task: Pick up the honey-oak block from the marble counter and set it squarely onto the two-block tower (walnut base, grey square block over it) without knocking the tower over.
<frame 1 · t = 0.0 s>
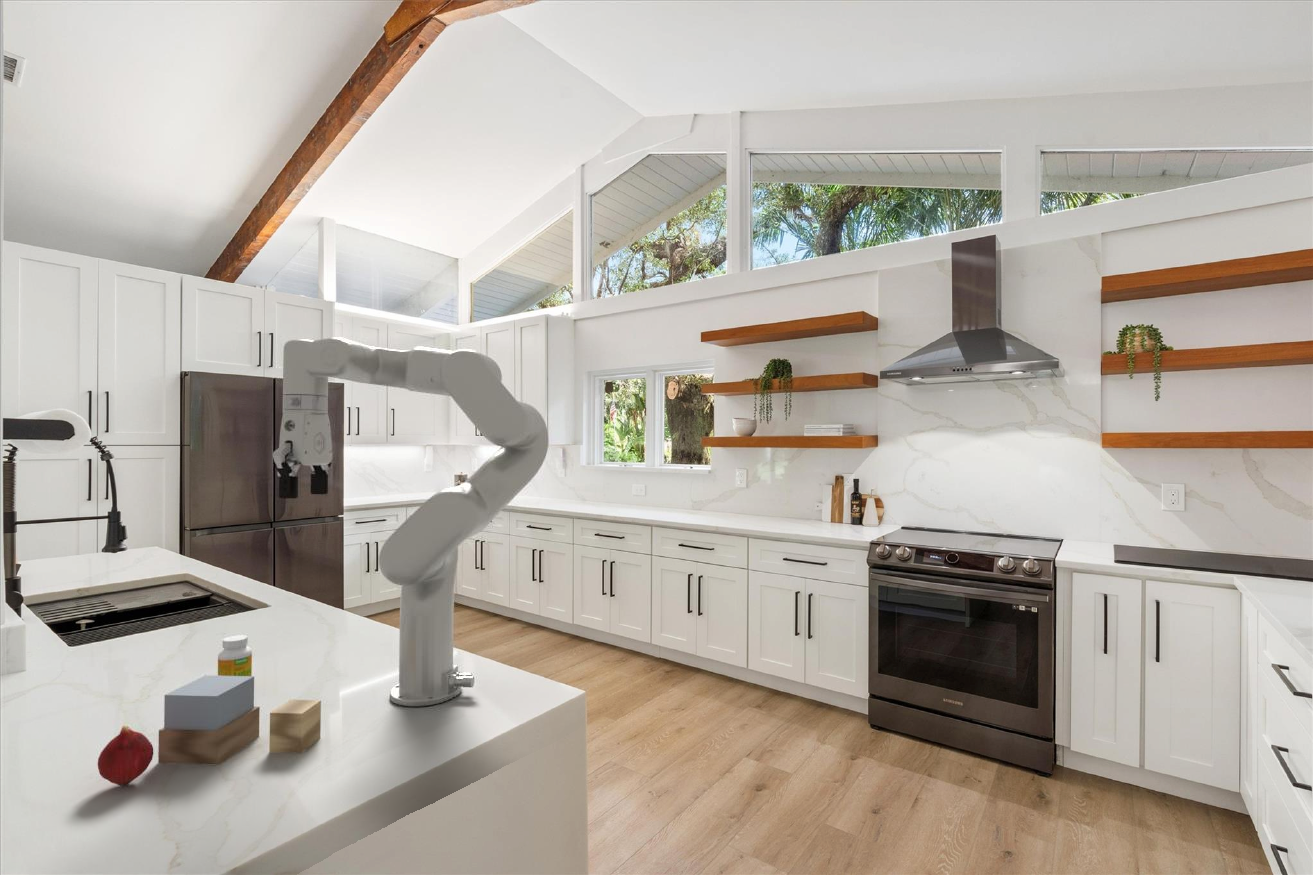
hand: (304, 496, 121), 37 cm above the counter, tool pointing down, fingers open, 9 cm apart
tower base: (210, 750, 98), on the counter, touching grey square block
onion: (125, 786, 87), on the counter
grey square block: (210, 718, 98), point 5 cm above the counter, touching tower base
supplement bottle: (234, 690, 121), on the counter
oak block: (295, 745, 99), on the counter
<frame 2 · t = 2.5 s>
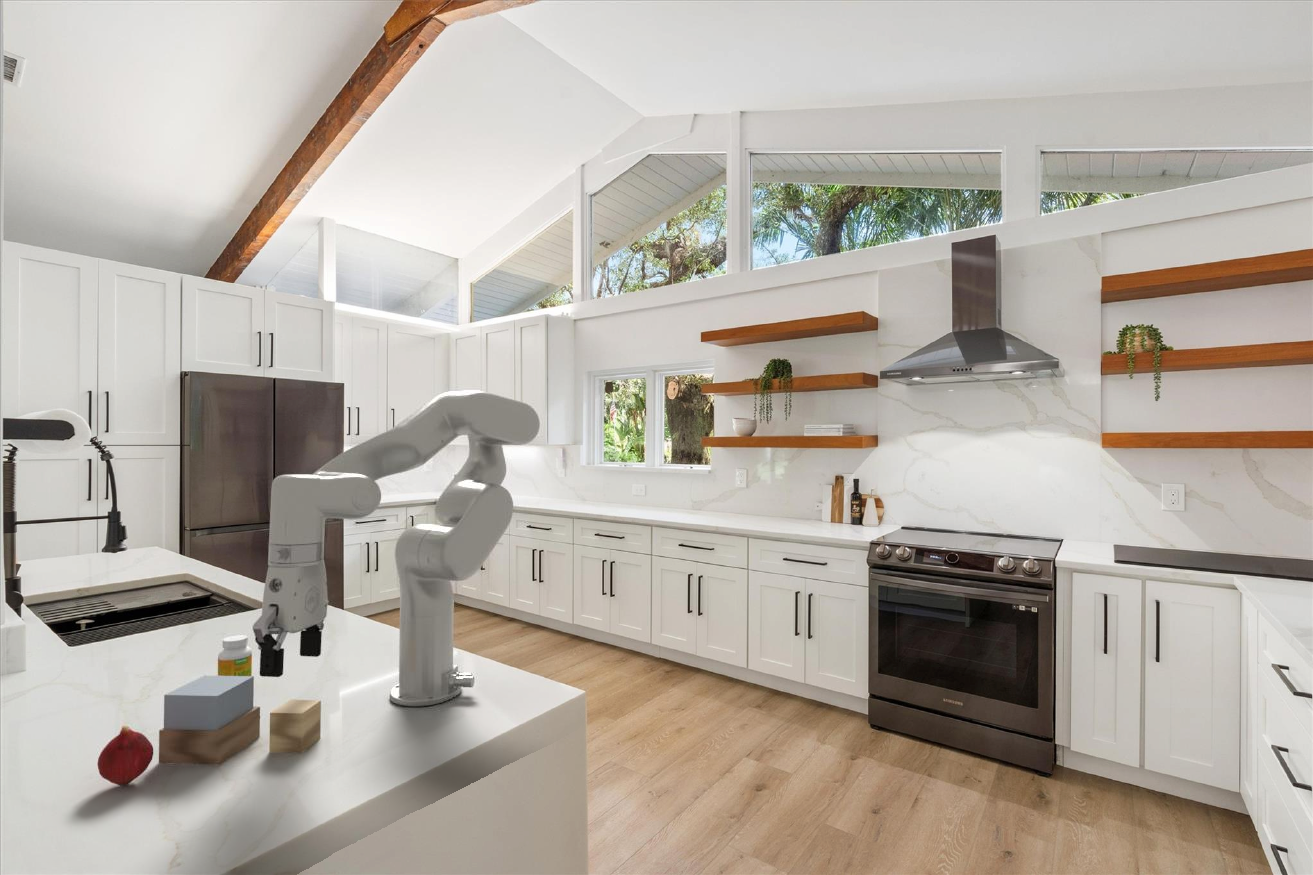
hand: (291, 665, 99), 12 cm above the counter, tool pointing down, fingers open, 9 cm apart
nothing on the counter moved.
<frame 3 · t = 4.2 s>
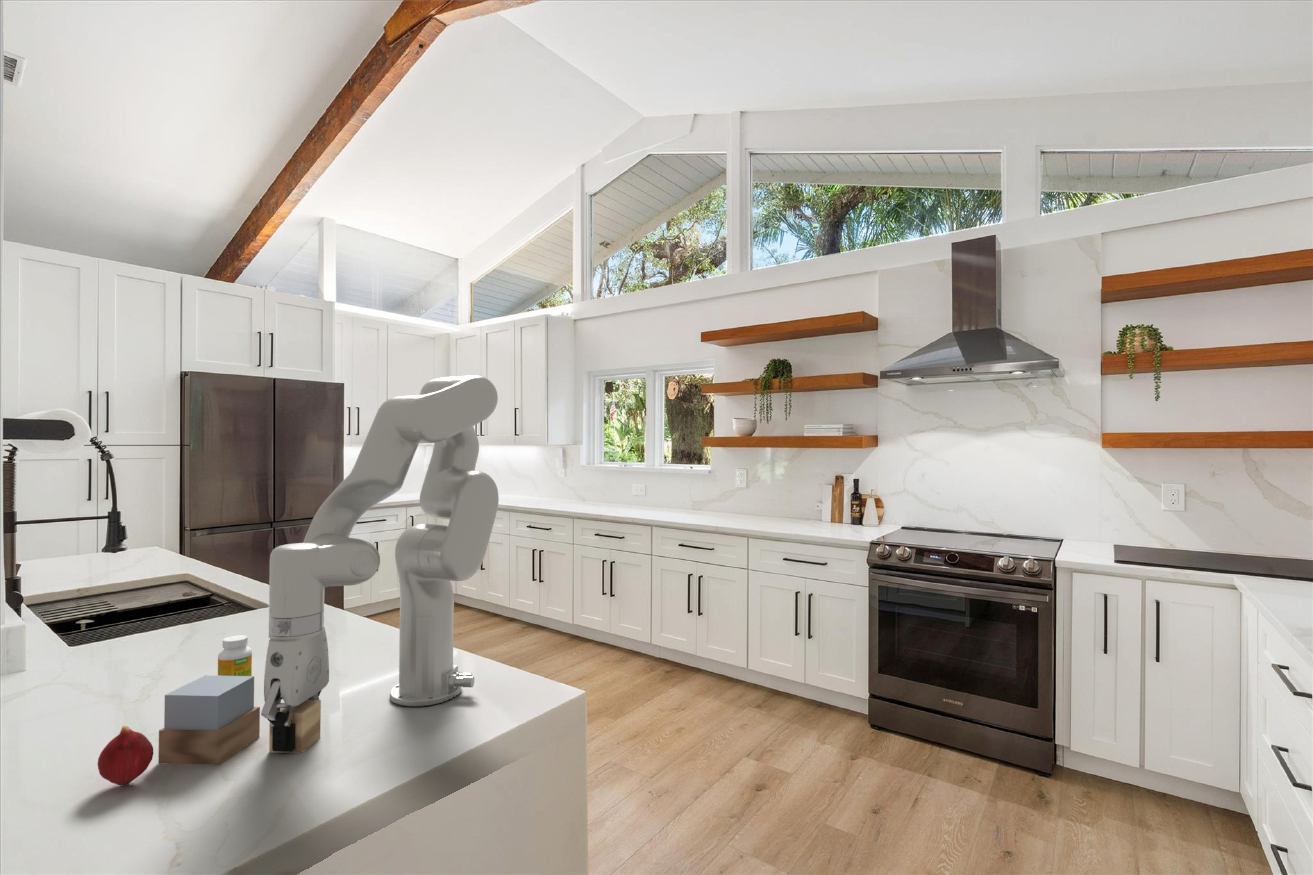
hand: (295, 740, 99), 1 cm above the counter, tool pointing down, fingers closed on oak block, 5 cm apart
oak block: (295, 744, 99), on the counter, touching gripper
everything else where it was.
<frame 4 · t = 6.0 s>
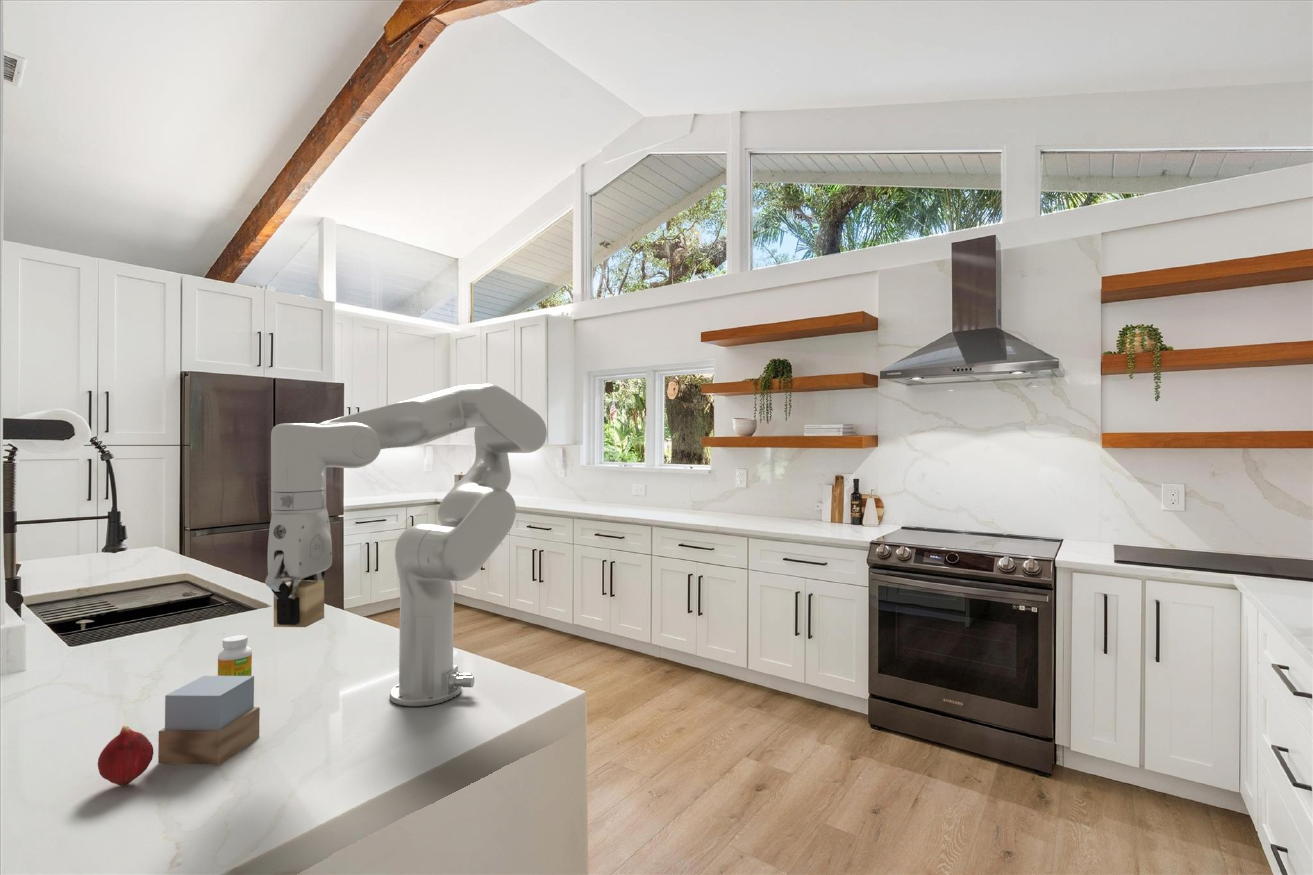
hand: (299, 617, 100), 20 cm above the counter, tool pointing down, fingers closed on oak block, 5 cm apart
oak block: (299, 622, 100), point 19 cm above the counter, touching gripper
everything else where it was.
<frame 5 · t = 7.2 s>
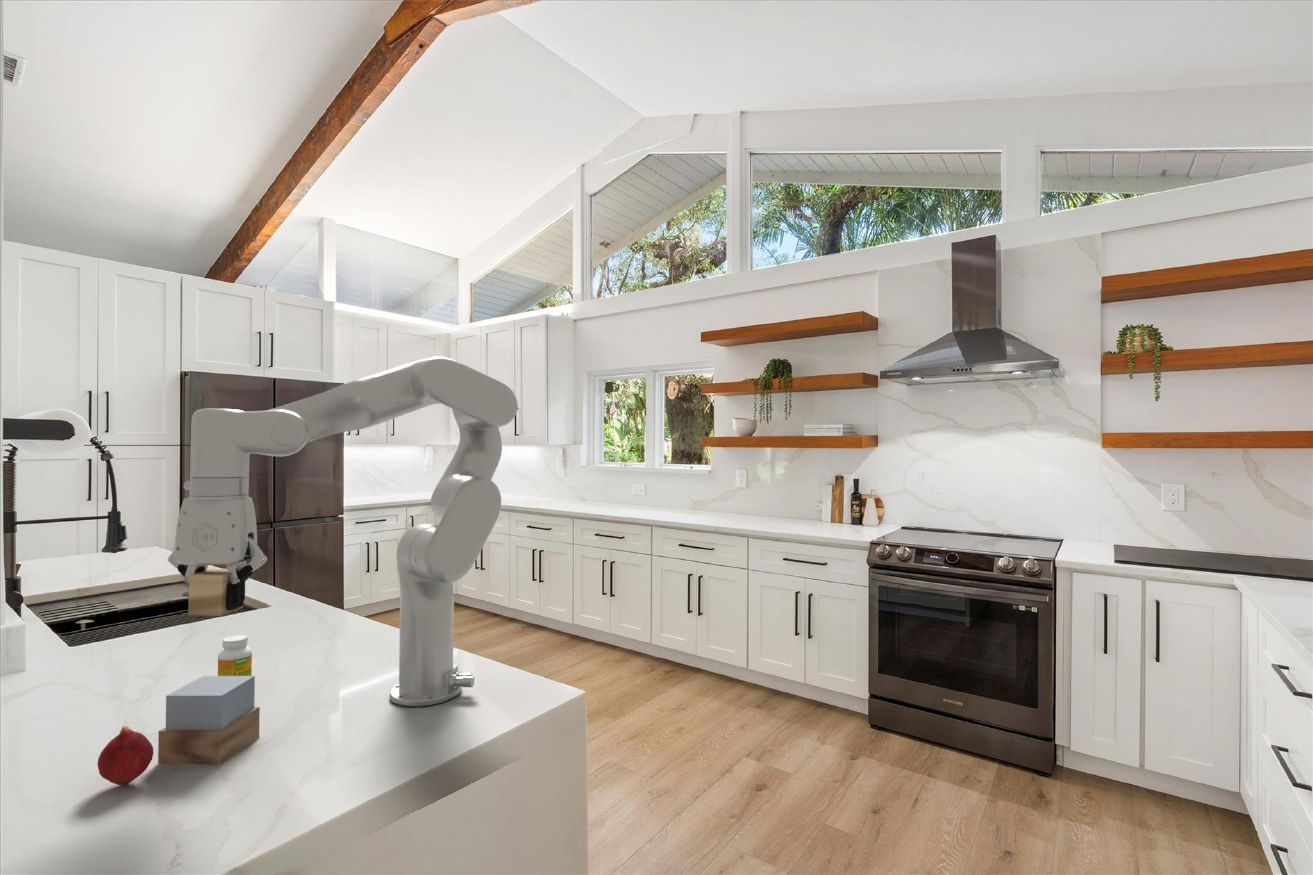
hand: (216, 606, 98), 22 cm above the counter, tool pointing down, fingers closed on oak block, 5 cm apart
oak block: (216, 611, 98), point 21 cm above the counter, touching gripper
everything else where it was.
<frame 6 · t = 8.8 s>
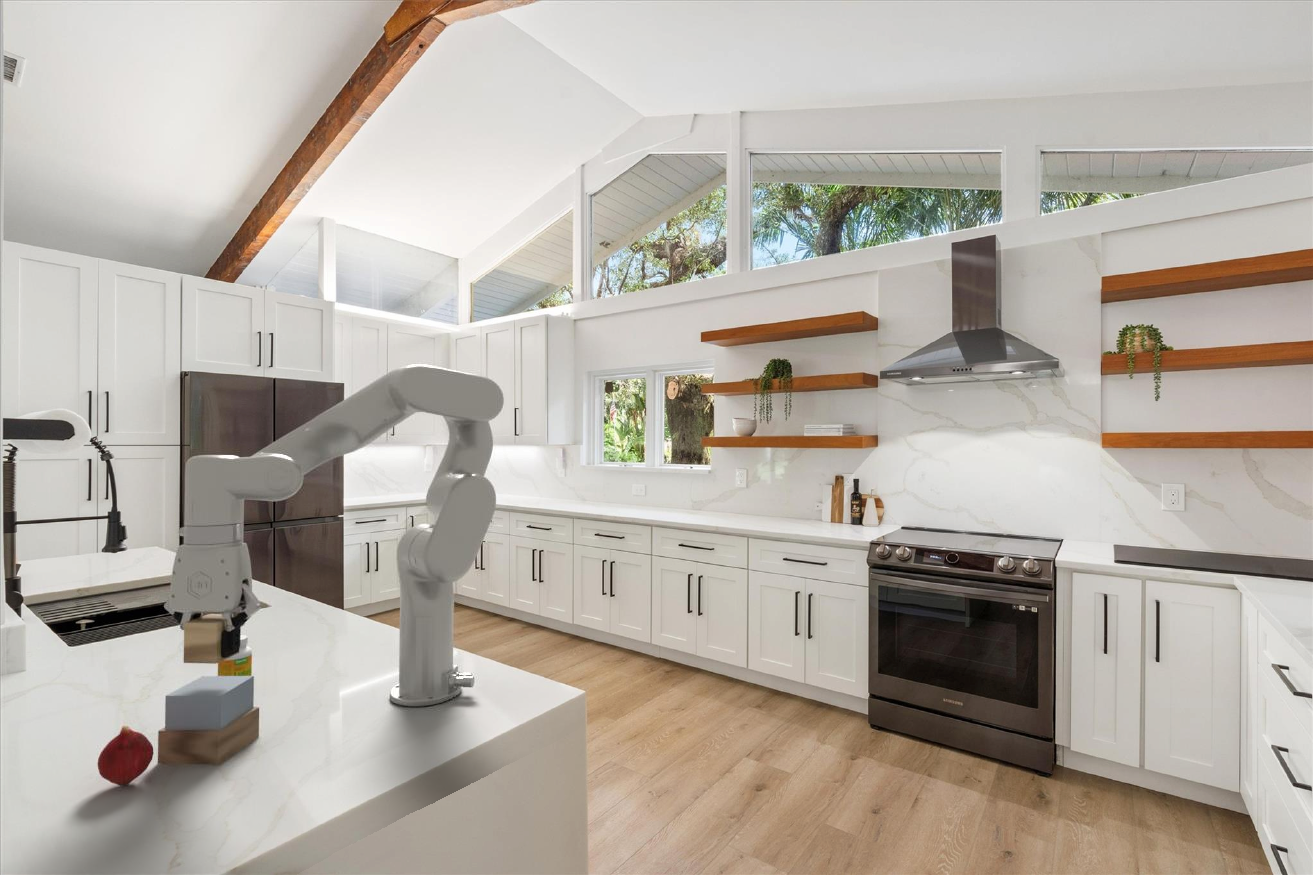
hand: (212, 653, 98), 15 cm above the counter, tool pointing down, fingers closed on oak block, 5 cm apart
oak block: (212, 657, 98), point 14 cm above the counter, touching gripper
everything else where it was.
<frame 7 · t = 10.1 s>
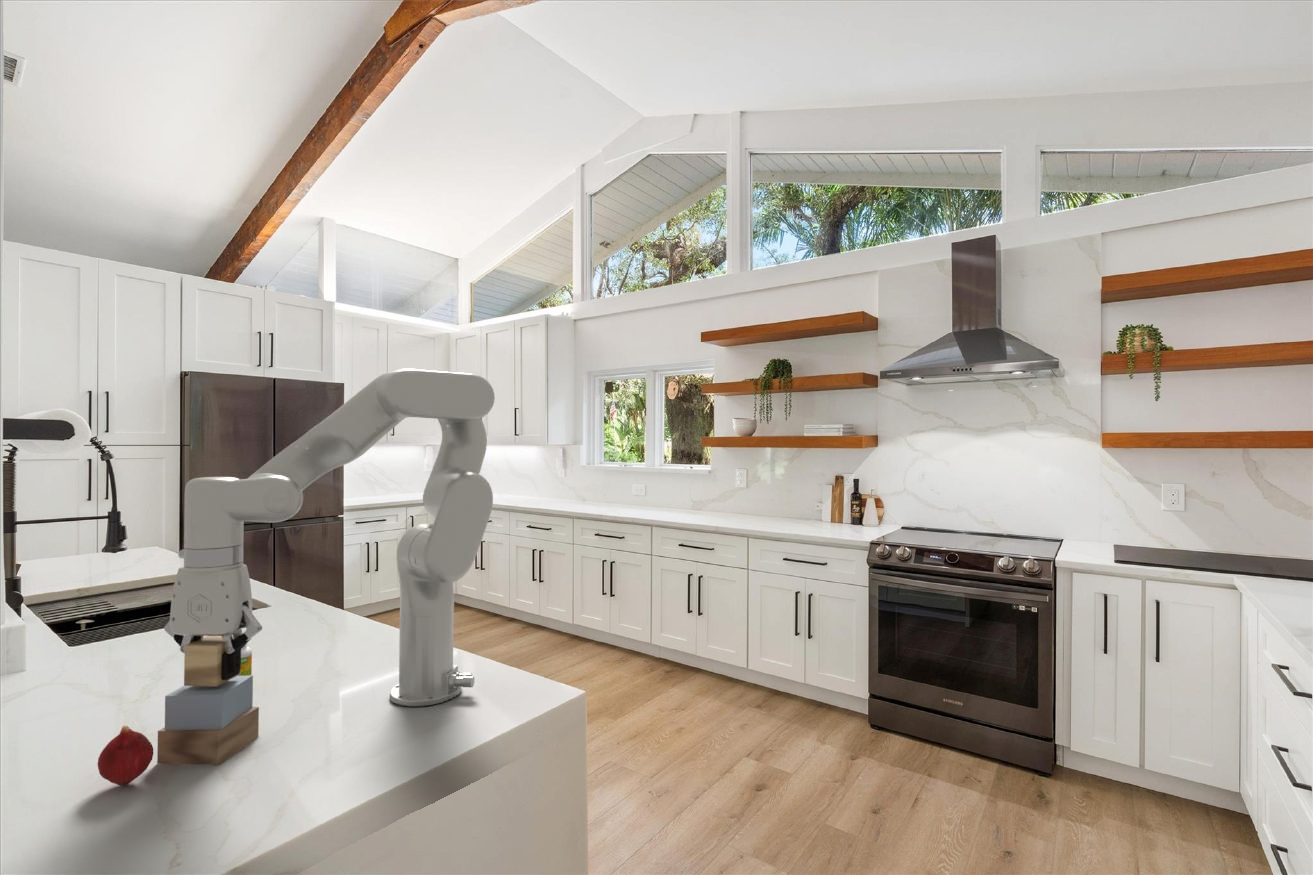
hand: (212, 675, 98), 11 cm above the counter, tool pointing down, fingers closed on oak block, 5 cm apart
oak block: (212, 679, 98), point 10 cm above the counter, touching gripper
everything else where it was.
when the fingers open (11 cm above the counter, at t = 11.1 s): oak block stays where it is, point 10 cm above the counter.
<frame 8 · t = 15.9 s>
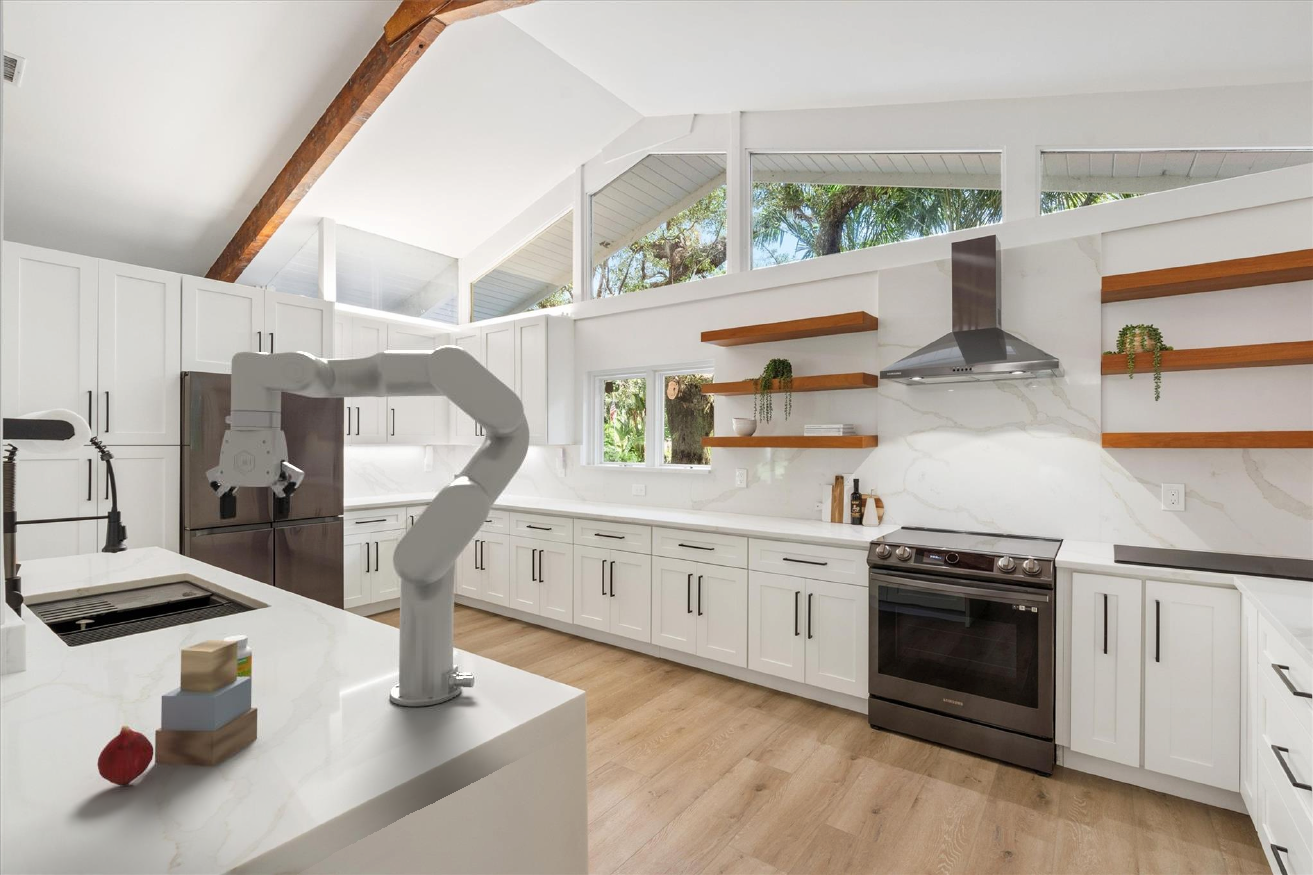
hand: (254, 518, 113), 33 cm above the counter, tool pointing down, fingers open, 9 cm apart
oak block: (209, 685, 98), point 10 cm above the counter
everything else where it was.
at the end: oak block 0.3 cm off-centre on the grey square block, point 5.0 cm above the grey square block's base; oak block tilted 0°; grey square block 0.6 cm from the target spot, point 4.8 cm above the counter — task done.
